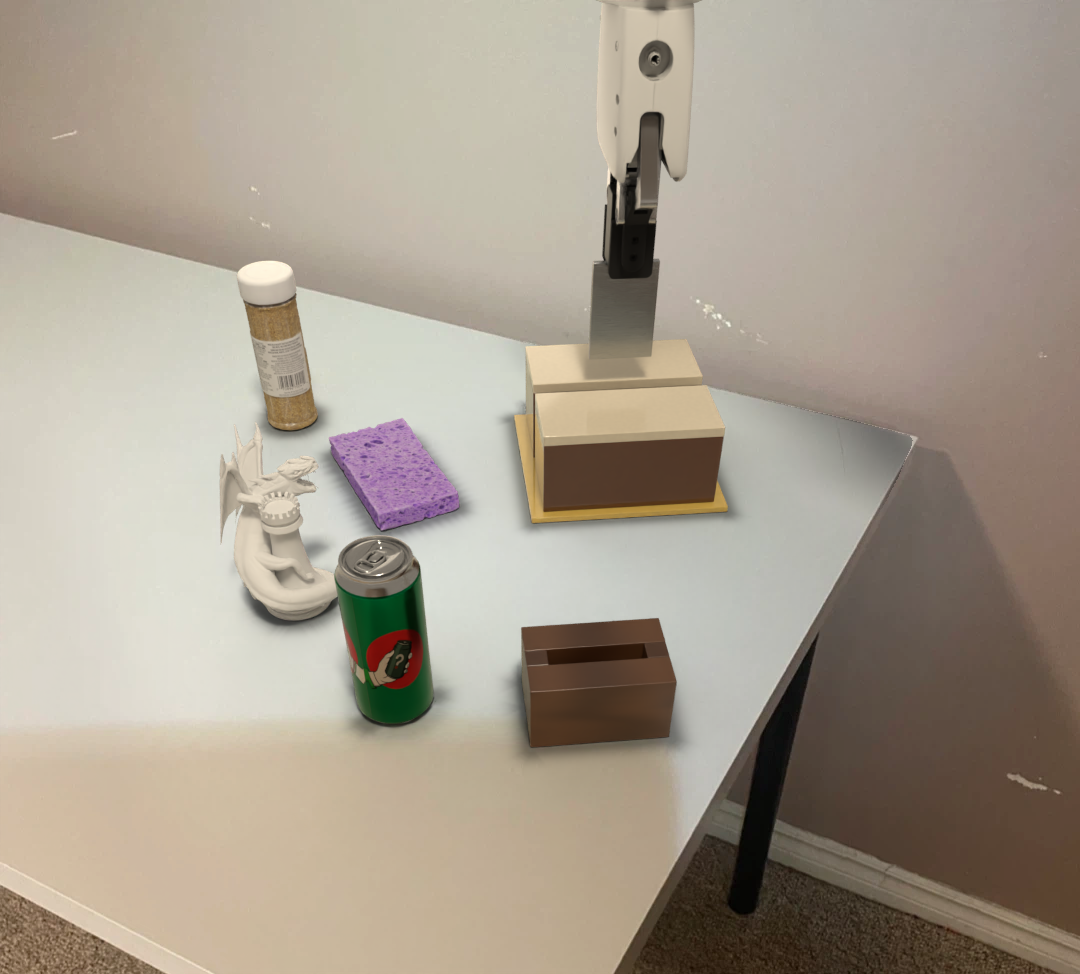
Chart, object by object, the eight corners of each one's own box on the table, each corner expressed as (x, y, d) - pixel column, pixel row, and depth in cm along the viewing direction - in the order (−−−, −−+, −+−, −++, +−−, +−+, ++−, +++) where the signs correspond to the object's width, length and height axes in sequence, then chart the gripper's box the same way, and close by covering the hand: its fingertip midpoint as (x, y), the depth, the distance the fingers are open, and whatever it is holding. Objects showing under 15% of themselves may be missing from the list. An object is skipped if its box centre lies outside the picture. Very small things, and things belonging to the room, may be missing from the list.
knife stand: (652, 672, 70) (658, 617, 66) (669, 737, 66) (677, 681, 62) (521, 682, 69) (521, 626, 65) (530, 747, 65) (530, 692, 61)
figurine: (355, 617, 73) (331, 473, 65) (249, 644, 71) (209, 500, 63) (320, 534, 80) (294, 394, 72) (222, 556, 78) (182, 415, 70)
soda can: (448, 692, 68) (436, 547, 60) (404, 740, 65) (384, 595, 57) (387, 665, 70) (366, 521, 61) (342, 711, 67) (313, 566, 58)
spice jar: (316, 404, 94) (291, 256, 84) (320, 429, 91) (294, 279, 81) (266, 409, 93) (234, 260, 84) (268, 435, 90) (236, 284, 81)
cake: (687, 410, 94) (696, 334, 88) (727, 511, 83) (740, 431, 77) (514, 419, 92) (512, 342, 87) (531, 523, 81) (531, 442, 76)
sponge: (405, 436, 90) (403, 417, 89) (461, 510, 83) (460, 491, 81) (329, 454, 88) (326, 435, 87) (380, 533, 80) (377, 513, 79)
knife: (648, 349, 81) (663, 182, 72) (653, 361, 80) (669, 192, 71) (586, 352, 81) (594, 184, 72) (590, 364, 80) (598, 194, 71)
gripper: (738, -5, 57) (698, 315, 70) (681, -62, 68) (656, 225, 81) (606, -3, 56) (591, 319, 70) (570, -61, 67) (563, 228, 81)
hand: (626, 266), depth 75 cm, fingers closed on knife, 2 cm apart
